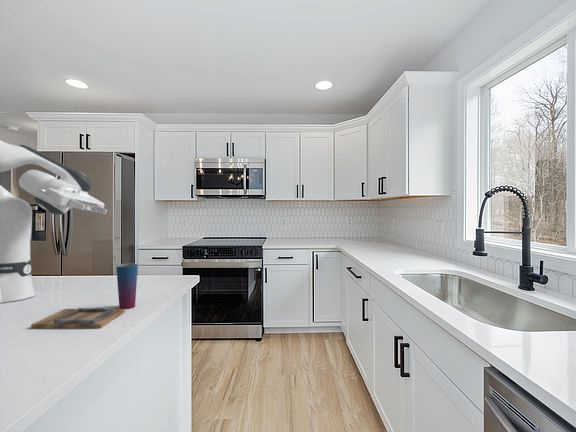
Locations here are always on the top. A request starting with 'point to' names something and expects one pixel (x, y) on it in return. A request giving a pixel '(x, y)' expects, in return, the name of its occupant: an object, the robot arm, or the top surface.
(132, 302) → the cup
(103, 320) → the board
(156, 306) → the top surface
